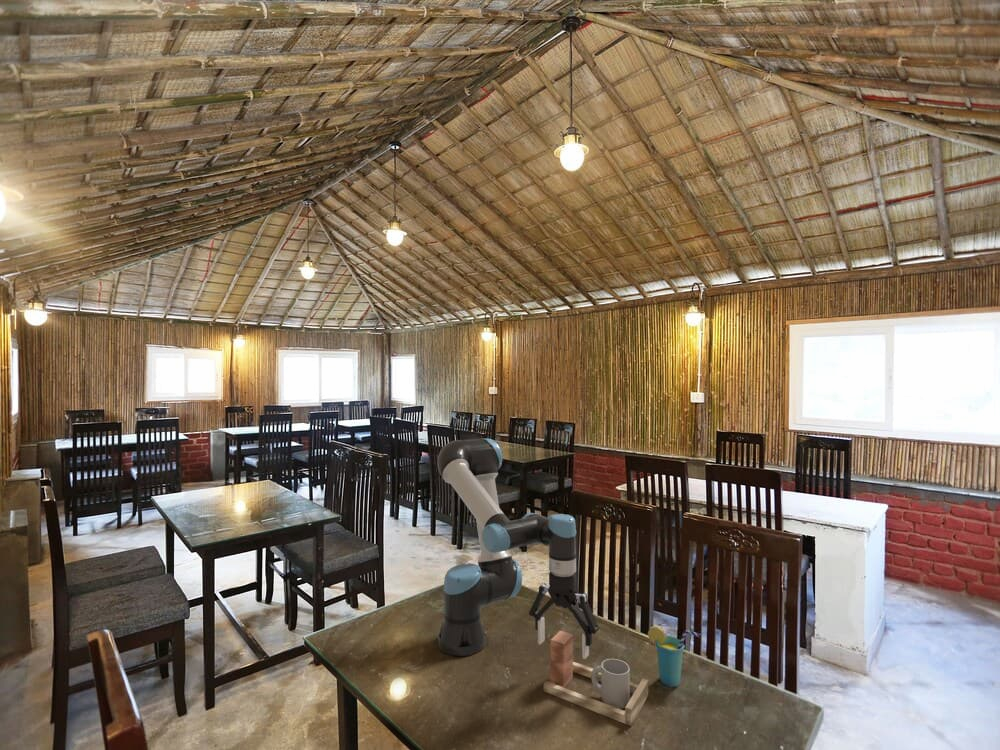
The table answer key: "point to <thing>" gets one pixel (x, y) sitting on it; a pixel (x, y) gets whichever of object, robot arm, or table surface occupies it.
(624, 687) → the cup
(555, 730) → the table surface
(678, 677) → the cup
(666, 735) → the table surface
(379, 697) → the table surface
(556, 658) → the frame
